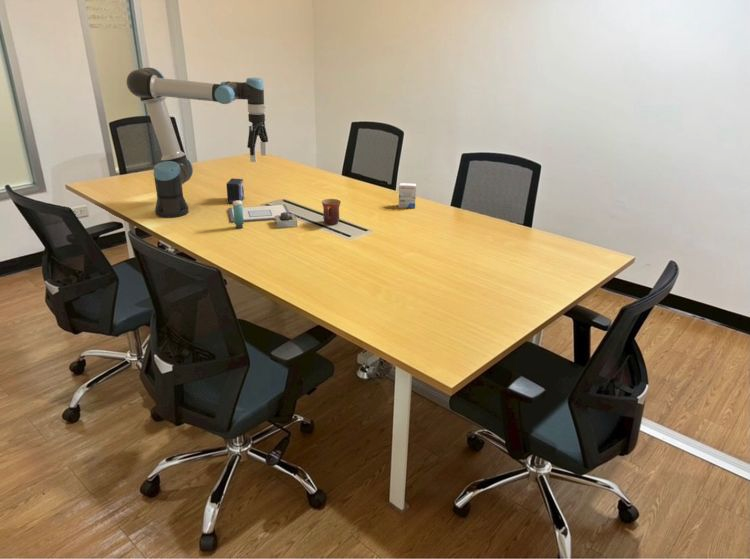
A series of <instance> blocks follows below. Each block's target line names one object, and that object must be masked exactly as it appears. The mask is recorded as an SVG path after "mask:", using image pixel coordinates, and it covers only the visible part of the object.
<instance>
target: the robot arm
mask: <svg viewBox="0 0 750 559" xmlns="http://www.w3.org/2000/svg"><path fill="white" fill-rule="evenodd" d="M126 87H127V89H128V90H129V92H130V93H131V94H132V95H134V96H136V97H138V98H140V102H141V103H144V105H146V109H147V112H148V115H149V118H150V122H151V125H152V128H153V129H154V132H155V136H156V139H157V141H158V144H159V147H160V152H161V154H162V157H161V159H160V161H161V162H159V163H156V164H155V165H154V167H153V177H154V184H155V185H154V186H155V191H156V198H157V199H156V203H155V208H154V213H155V215H156V217H158V218H159V217H160V218H179V217H183V216H186V215H187V214H189V212H190V211H189V210H190V209H189V206H188V203H187V201H186V199H185V197H184V192H183V185H184V184H185V183H186V182H188V181H189V180H190V179H191V177H192V176H193V173H194V166H193V164H192V162H191V161H190V159H187V158H188V157H187V155H186V153H185V152H183V151H182V150H181V147H180V143H179V141H178V139H177V135H176V132H175V128H174V126H173V122H172V120H171V116H170V113H169V110H168V106H167V104H166V98H176V99H186V100H194V101H195V100H196V101H207V102H214V103H219V104H222V105H229V104H230V103H232V102H233V101H234V102H235V100H247V112H248V122H249V123H251V125H249V127H248V138H247V146H246V148H248V149H249V160H250V161H249V162H251V163H257V149H256V144H257V139H258V136H259V139H260V142H259V144H260V145H259V146H260V156H262V157H263V156H264V157H266V156H268V155H267V143H268V142H269V140H268V139H269V138H268V133H267V129H266V123H265V121H266V117H265V109H266V106H265V91H264V90H265V88H264V81H263V79H262V78H260V77H248V78H246V80H245V82H241V81H221V82H220V84H219V83H212V82H211V83H209V82H201V81H190V80H182V79H173V78H165V76H164V74H163V73H162V72H161V71H160V70H158V69H157V68H154V67H142V68H139V69H135V70H132V71H131V72H130V73H129V74H128V75H127V77H126Z"/></svg>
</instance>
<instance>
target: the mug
mask: <svg viewBox="0 0 750 559" xmlns="http://www.w3.org/2000/svg"><path fill="white" fill-rule="evenodd" d="M341 203H342V201H341V200H339V199H336V198H325V199H323V200H321V204H322V208H323V212H322V214H323V215H322V216H323V217H322V220H323V222H324V223H325V224H326V225H331V226H333V225H337V224H338V223H339V222H340V206H341Z"/></svg>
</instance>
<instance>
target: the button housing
mask: <svg viewBox="0 0 750 559" xmlns="http://www.w3.org/2000/svg"><path fill="white" fill-rule="evenodd" d="M290 215H291V220H281V215H276V216H275V220H274V223H275V226H276V228H277V229H282V228H283V229H286V228H297V227H298V219H297V218H296V216H295V213H294V214H293V213H290Z"/></svg>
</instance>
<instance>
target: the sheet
mask: <svg viewBox="0 0 750 559" xmlns="http://www.w3.org/2000/svg"><path fill="white" fill-rule="evenodd" d="M242 207H243V221H244V223H251V222H265V221H275V216H276V215H281V213H283V212H288V213H290V214H291V212H290V211H289V209H288V207H287V205H286V204H273V205H259V206H258V205H257V206H242ZM227 211H228V215H229V218H230V222H231V224H235V223H234V211H233V207H230V208H229V207H228V210H227Z"/></svg>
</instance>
